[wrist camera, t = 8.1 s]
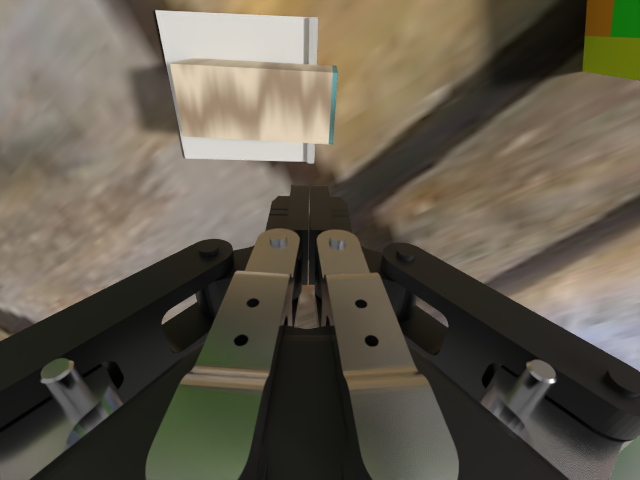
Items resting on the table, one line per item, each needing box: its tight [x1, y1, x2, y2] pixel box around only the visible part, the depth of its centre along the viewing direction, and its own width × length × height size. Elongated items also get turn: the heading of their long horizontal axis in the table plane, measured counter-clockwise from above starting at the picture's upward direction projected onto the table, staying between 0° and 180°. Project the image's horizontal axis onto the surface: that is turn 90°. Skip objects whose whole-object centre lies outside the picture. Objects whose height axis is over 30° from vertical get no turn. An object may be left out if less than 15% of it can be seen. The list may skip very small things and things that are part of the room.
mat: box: [155, 10, 318, 163], centre depth 33 cm, size 14×15×1 cm
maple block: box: [170, 58, 338, 144], centre depth 31 cm, size 6×6×14 cm
